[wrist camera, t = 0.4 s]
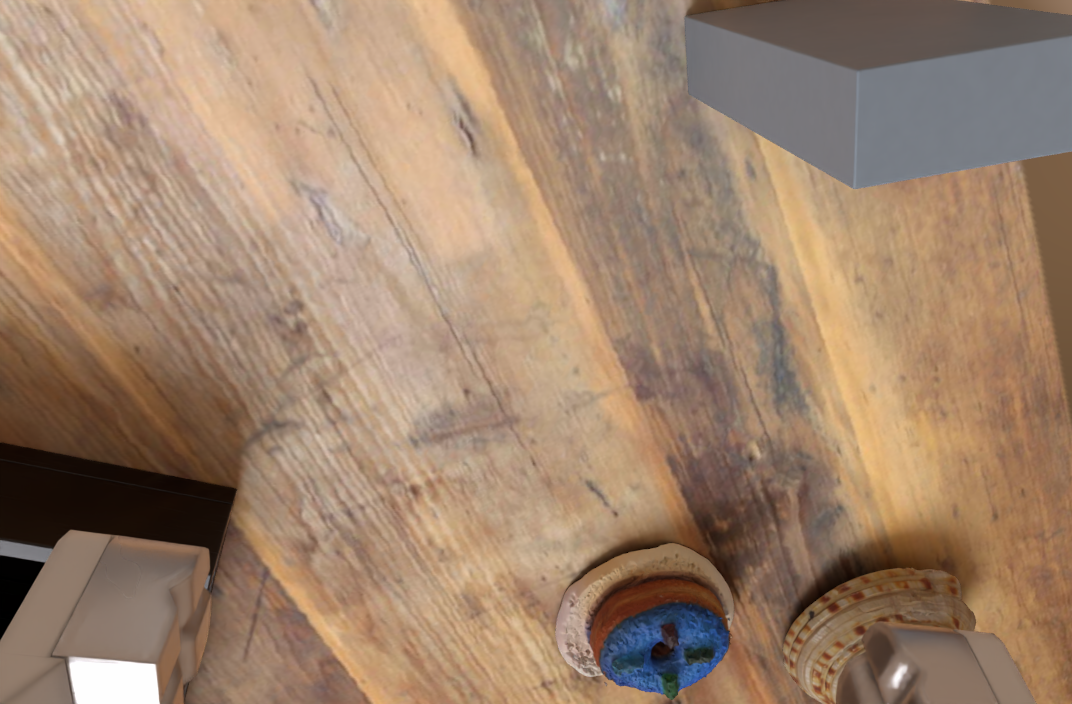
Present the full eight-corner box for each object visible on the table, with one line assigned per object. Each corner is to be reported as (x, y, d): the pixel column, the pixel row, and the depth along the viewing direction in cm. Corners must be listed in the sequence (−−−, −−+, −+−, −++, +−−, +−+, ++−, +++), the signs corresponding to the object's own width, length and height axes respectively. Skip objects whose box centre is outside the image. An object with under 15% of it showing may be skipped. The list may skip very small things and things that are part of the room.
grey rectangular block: (683, 15, 28) (857, 69, 18) (866, -14, 29) (1145, 21, 18) (687, 94, 29) (853, 190, 19) (863, 65, 30) (1124, 142, 19)
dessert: (724, 526, 37) (765, 674, 34) (715, 562, 42) (749, 691, 40) (536, 563, 37) (562, 714, 34) (553, 595, 43) (576, 725, 40)
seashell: (1026, 609, 39) (957, 777, 39) (931, 569, 45) (869, 716, 44) (896, 546, 36) (819, 727, 36) (811, 512, 42) (743, 669, 41)
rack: (-140, 750, 36) (-215, 865, 32) (-119, 418, 30) (-208, 503, 26) (163, 783, 40) (133, 892, 35) (237, 488, 34) (213, 574, 29)
